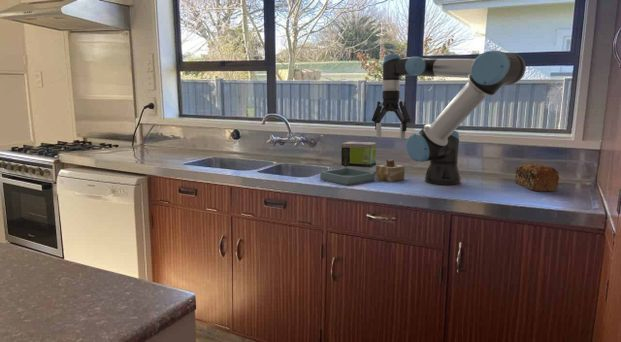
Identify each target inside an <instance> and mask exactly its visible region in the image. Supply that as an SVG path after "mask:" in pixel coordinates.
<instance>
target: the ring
mask: <svg viewBox="0 0 621 342" xmlns="http://www.w3.org/2000/svg"><path fill="white" fill-rule="evenodd" d="M405 167H406V166H405V165H400V164H395V165H394V167H387V163H385V164H384V163H383V164H379V165H378V164H376V171H375V179H376V180H378V182H379V181H380V182H383V181H386V182H387V181H388V182H396V181H397V182H398V181H401V180H405V171H406V170H405Z"/></svg>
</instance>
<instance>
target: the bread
mask: <svg viewBox="0 0 621 342" xmlns="http://www.w3.org/2000/svg"><path fill="white" fill-rule="evenodd" d="M514 179H515V180H514V181H515V183H516V184H518V185H519V186H522V187H524V188H526V189H527V190H530V191H534V192H535V191H536V192H553V193H554V192H556V190H557V189H558V186H559V181H560V176H559V171H558V170H557V169H556V168H555V167H552V166H549V165H546V164H540V163H531V162H524V163H522V164H521V165H517V167H516V168H515V176H514Z"/></svg>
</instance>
